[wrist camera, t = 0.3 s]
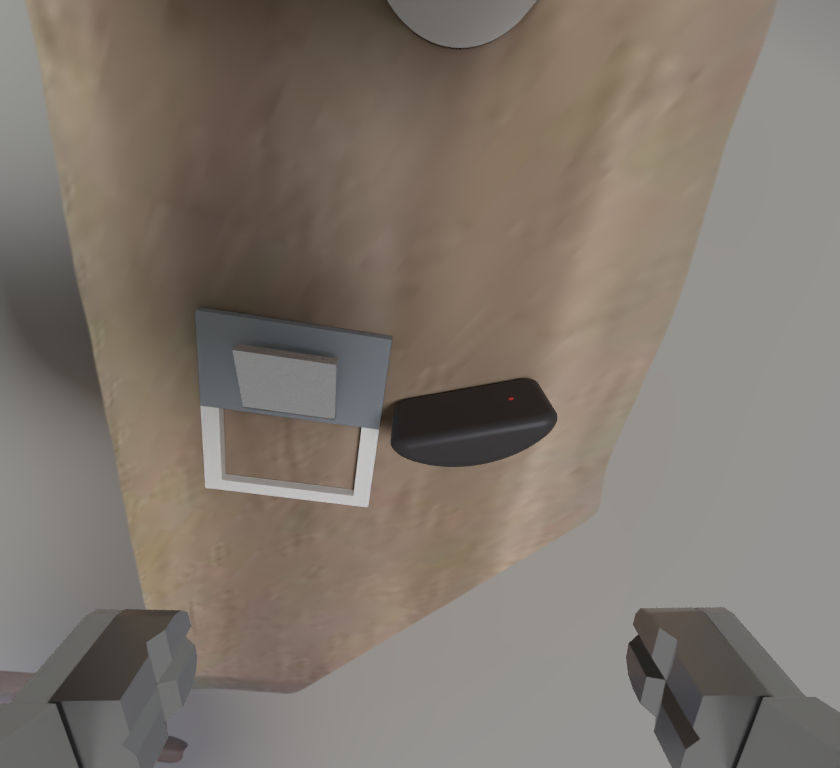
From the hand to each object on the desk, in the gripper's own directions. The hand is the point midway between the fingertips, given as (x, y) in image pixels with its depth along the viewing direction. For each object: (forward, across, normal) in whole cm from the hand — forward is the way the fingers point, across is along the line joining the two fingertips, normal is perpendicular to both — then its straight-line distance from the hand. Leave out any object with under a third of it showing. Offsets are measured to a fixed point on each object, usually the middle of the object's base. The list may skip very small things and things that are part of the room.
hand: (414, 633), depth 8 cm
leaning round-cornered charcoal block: (+40, -6, +10) cm, 41 cm away
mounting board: (+40, +14, +13) cm, 44 cm away
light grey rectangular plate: (+37, +13, +8) cm, 40 cm away
